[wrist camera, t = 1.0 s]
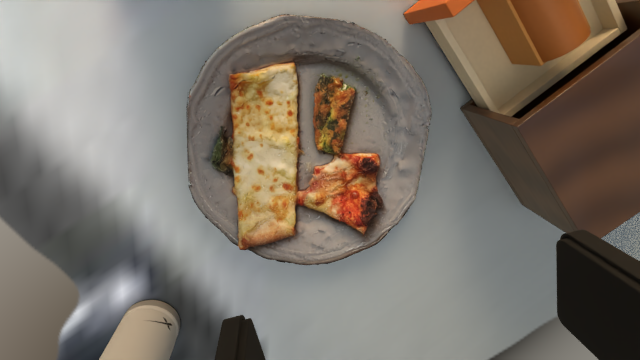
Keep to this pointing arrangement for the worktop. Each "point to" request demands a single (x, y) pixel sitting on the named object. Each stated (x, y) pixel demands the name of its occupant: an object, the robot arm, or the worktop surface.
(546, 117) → the cabinet
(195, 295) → the worktop surface
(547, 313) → the worktop surface
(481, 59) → the drawer
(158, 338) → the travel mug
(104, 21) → the worktop surface
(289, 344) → the worktop surface
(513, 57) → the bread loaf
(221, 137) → the food plate
